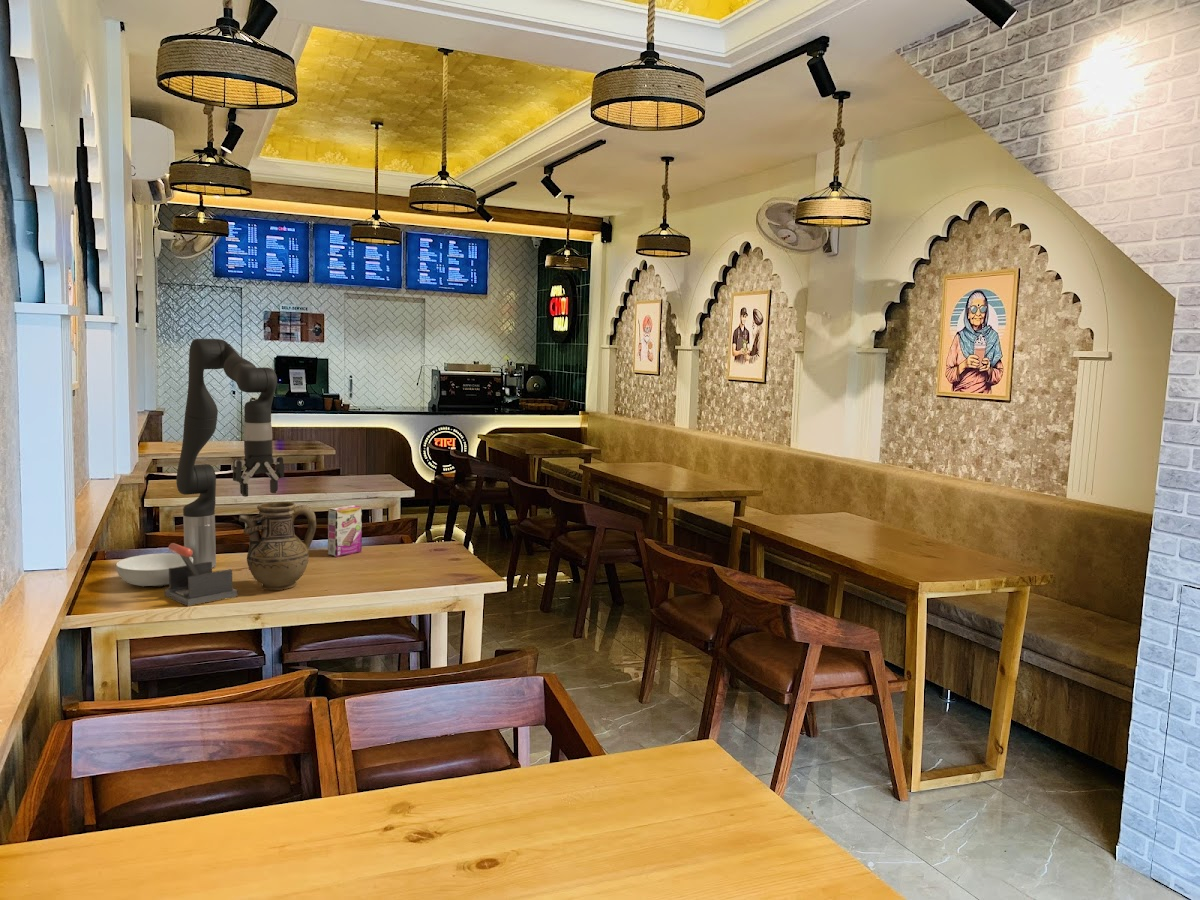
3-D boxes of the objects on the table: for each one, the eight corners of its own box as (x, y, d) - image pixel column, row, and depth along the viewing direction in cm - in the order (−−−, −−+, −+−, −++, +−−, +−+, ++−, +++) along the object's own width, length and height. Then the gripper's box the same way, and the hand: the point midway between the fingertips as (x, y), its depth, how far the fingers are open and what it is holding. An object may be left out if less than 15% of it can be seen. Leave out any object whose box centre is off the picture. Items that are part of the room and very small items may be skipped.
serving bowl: (113, 595, 257) (112, 571, 257) (119, 577, 277) (119, 555, 276) (193, 589, 266) (192, 566, 265) (194, 572, 285) (193, 551, 284)
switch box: (188, 606, 248) (187, 578, 247) (164, 595, 258) (163, 568, 257) (237, 596, 258) (236, 569, 257) (213, 587, 268) (212, 560, 267)
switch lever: (206, 589, 254) (182, 552, 248) (190, 583, 260) (166, 546, 254) (213, 584, 255) (189, 546, 249) (197, 577, 262) (174, 541, 256)
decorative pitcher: (315, 577, 282) (313, 498, 279) (319, 591, 265) (318, 507, 263) (240, 582, 274) (238, 500, 271) (240, 597, 258) (238, 511, 255)
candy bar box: (336, 557, 308) (336, 510, 306) (327, 555, 311) (326, 508, 309) (362, 552, 317) (362, 506, 315) (353, 550, 320) (353, 504, 318)
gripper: (274, 435, 263) (275, 490, 265) (227, 438, 253) (228, 495, 255) (288, 437, 258) (289, 493, 260) (240, 440, 248) (241, 499, 250)
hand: (259, 494), depth 257 cm, fingers open, 8 cm apart
